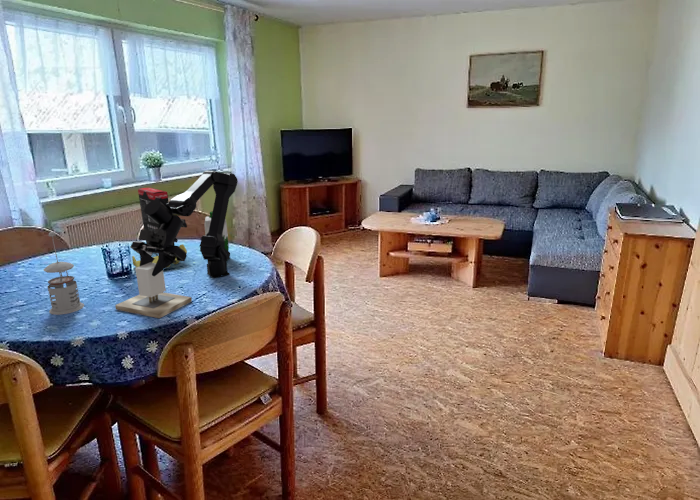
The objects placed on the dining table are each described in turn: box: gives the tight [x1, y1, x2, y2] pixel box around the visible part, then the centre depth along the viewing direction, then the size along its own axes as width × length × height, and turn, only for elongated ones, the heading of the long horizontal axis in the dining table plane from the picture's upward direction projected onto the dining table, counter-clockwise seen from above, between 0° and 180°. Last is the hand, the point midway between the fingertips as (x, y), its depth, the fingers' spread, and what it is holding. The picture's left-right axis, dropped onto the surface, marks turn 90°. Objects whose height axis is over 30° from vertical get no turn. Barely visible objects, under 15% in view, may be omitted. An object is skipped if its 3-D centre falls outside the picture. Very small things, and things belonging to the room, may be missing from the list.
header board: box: [114, 291, 193, 319], centre depth 149 cm, size 14×18×5 cm
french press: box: [43, 231, 85, 316], centre depth 146 cm, size 10×12×25 cm
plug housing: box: [134, 262, 167, 297], centre depth 147 cm, size 6×5×9 cm
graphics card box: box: [137, 187, 176, 246], centre depth 210 cm, size 17×7×27 cm, turn 46°
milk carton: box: [204, 210, 230, 262], centre depth 193 cm, size 9×9×20 cm
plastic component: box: [131, 244, 188, 269], centre depth 188 cm, size 20×7×10 cm
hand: (146, 274), depth 145 cm, fingers closed on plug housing, 5 cm apart
